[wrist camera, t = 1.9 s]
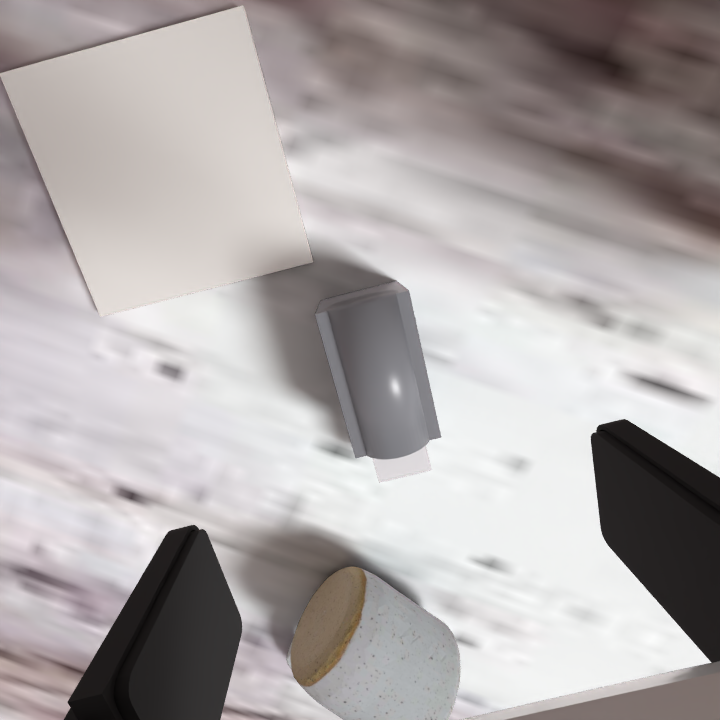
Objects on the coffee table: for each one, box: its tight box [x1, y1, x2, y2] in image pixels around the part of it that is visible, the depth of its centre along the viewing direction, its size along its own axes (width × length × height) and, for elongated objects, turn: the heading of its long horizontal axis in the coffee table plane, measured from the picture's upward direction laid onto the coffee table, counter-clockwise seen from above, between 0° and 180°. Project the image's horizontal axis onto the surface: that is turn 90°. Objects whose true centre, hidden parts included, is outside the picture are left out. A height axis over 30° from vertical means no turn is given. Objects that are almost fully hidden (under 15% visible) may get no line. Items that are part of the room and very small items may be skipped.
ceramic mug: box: [286, 567, 460, 720], centre depth 27 cm, size 11×8×8 cm
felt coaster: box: [0, 6, 314, 317], centre depth 22 cm, size 12×12×1 cm
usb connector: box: [315, 281, 441, 483], centre depth 23 cm, size 4×10×6 cm, turn 14°
